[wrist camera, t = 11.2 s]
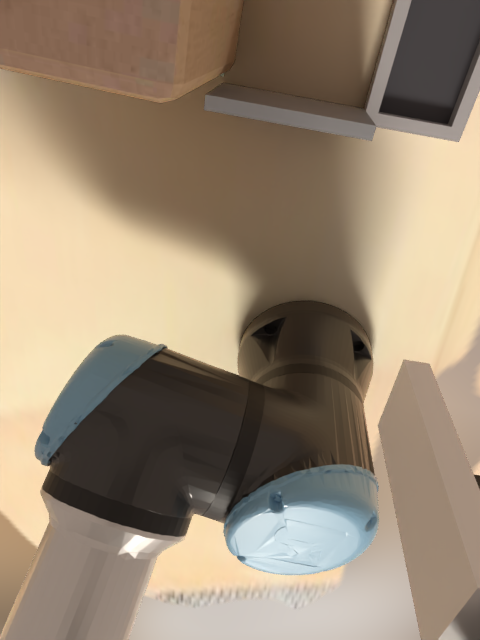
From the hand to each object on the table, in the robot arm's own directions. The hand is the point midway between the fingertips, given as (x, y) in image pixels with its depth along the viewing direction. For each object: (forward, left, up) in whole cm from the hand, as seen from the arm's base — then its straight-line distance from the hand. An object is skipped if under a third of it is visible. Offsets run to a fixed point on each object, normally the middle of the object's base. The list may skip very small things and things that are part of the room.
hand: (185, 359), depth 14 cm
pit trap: (+11, -12, -31) cm, 35 cm away
